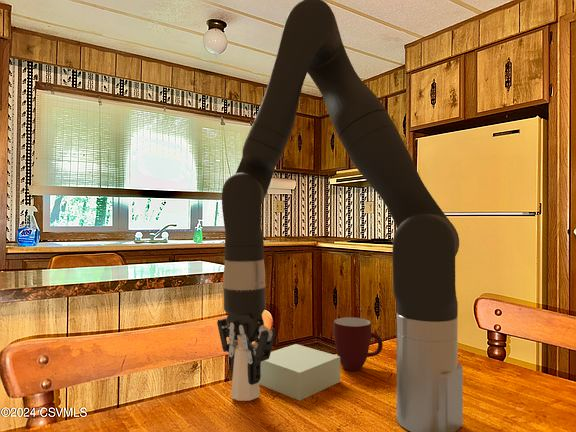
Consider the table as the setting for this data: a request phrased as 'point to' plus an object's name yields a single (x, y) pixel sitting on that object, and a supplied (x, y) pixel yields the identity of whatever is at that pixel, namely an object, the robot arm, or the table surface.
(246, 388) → the salt shaker
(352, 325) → the mug
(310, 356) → the sage box
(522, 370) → the table surface
